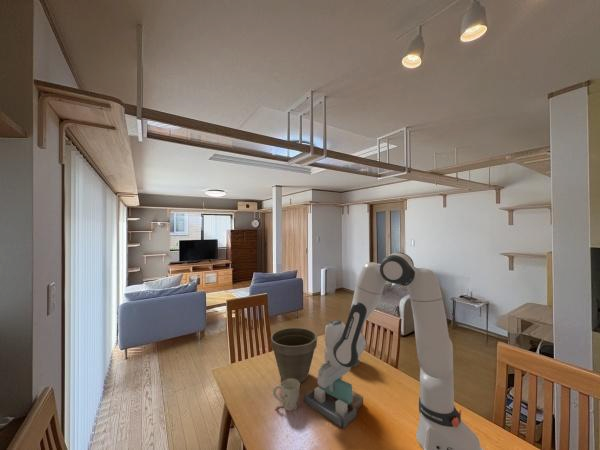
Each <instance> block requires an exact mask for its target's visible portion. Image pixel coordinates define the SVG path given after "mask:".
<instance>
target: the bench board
mask: <svg viewBox="0 0 600 450" xmlns="http://www.w3.org/2000/svg"><path fill="white" fill-rule="evenodd" d="M325 396H327V397H329V398H330V399H332V400H334V401H335V402H336V401H337V400H338V399H337V398H335V397H333V396H332V395H330V394H328V393H326V392H325ZM352 399H353V401H352V402H351V403H350V404H349V405H348V410H350V411H352V410H353V409H354V408H356V409H357V411H358V410H359V409H360V408H361V407H362V406H363V405H364V396H363V395H361V394H359V393H357V392H355V391H354V390H352ZM346 404H347V403H346Z"/></svg>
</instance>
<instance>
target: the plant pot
mask: <svg viewBox="0 0 600 450" xmlns="http://www.w3.org/2000/svg"><path fill="white" fill-rule="evenodd" d="M317 343H318V335H317V334H316V332H314V331H313V330H311V329H308V328H303V327H287V328H281V329H278V330H277V331H275V332H273V333H272V334H271V336H270V346H271V349H272V351H273V354H274V357H275V362H276V364H277V369H278V373H279V376H280V378H281V380H282V382H283V381H284V380H286V379H290V378H293V379H296V380H298V381H299V382H300V384H301V383H304V382H305V381H306V380H307V379H308V376H309V373H310V368H311V366H312V365H311V364H312V361H313V358H314V357H313V356H314V353H315V350H316V348H317V346H318V345H317Z"/></svg>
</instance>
